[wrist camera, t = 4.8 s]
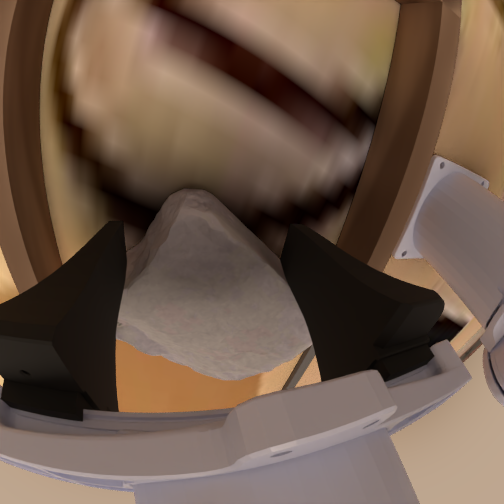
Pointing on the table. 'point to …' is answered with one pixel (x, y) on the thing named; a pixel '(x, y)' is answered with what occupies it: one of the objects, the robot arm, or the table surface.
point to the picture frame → (471, 345)
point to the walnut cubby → (372, 178)
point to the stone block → (209, 293)
